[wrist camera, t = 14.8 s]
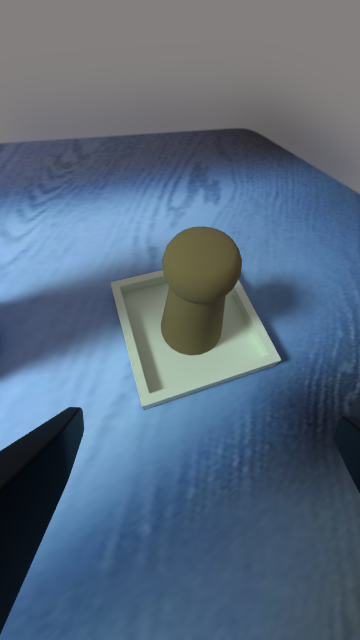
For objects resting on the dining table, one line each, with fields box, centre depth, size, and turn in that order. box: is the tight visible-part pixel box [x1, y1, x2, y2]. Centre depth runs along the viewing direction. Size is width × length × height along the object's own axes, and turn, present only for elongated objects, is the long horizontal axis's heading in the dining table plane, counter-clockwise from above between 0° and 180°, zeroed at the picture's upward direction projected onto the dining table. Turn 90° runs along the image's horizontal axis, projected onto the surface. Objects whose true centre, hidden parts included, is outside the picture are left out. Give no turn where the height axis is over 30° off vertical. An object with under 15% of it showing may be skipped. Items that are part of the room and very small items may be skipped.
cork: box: [161, 227, 242, 356], centre depth 20 cm, size 6×6×11 cm
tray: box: [110, 270, 281, 410], centre depth 25 cm, size 13×13×2 cm
